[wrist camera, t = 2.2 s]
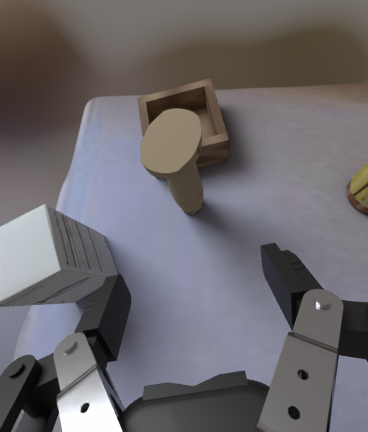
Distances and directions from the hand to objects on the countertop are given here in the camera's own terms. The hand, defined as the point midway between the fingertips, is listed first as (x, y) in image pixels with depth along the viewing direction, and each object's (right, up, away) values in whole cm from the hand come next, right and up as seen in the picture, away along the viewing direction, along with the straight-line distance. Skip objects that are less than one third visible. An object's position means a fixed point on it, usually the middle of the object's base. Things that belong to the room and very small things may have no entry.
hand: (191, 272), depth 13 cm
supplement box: (-14, -4, +20) cm, 24 cm away
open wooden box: (0, +16, +24) cm, 29 cm away
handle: (+1, +5, +20) cm, 21 cm away
